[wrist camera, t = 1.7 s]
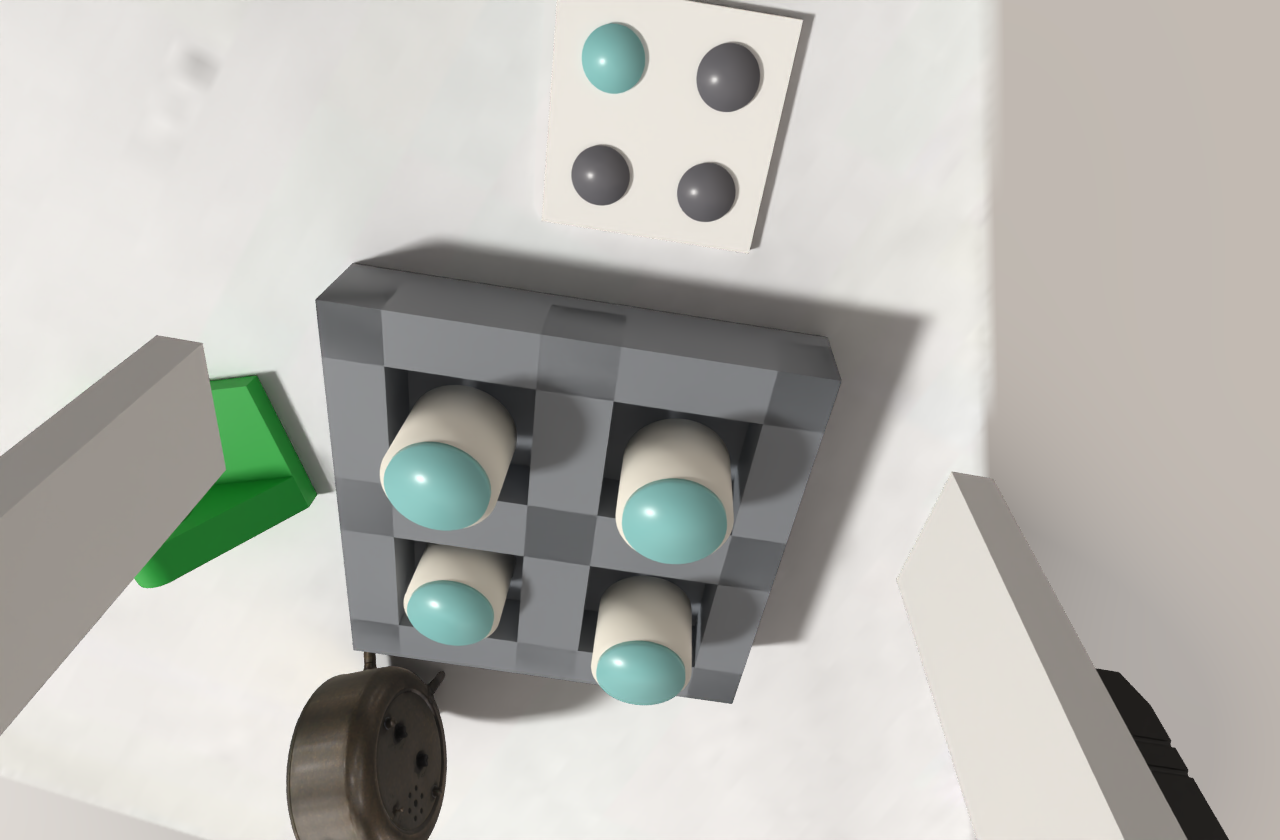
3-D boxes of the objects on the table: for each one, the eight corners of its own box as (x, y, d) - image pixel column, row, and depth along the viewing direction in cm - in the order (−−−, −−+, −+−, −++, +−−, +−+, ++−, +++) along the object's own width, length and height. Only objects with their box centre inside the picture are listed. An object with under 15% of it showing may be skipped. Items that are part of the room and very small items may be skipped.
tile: (559, -22, 27) (557, -21, 27) (801, 19, 28) (803, 20, 27) (543, 217, 32) (540, 222, 32) (748, 250, 32) (749, 254, 32)
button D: (426, 516, 40) (399, 575, 37) (517, 530, 41) (500, 589, 37) (427, 581, 43) (402, 642, 39) (513, 593, 43) (496, 655, 40)
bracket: (259, 372, 38) (183, 450, 32) (319, 491, 42) (260, 579, 36) (53, 397, 40) (-55, 475, 34) (130, 509, 44) (45, 596, 38)
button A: (630, 410, 33) (622, 470, 30) (740, 427, 34) (745, 488, 30) (616, 496, 36) (608, 560, 33) (718, 511, 36) (721, 576, 33)
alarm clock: (339, 624, 48) (199, 900, 34) (415, 612, 47) (301, 892, 33) (411, 727, 53) (316, 999, 40) (481, 719, 52) (407, 995, 39)
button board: (352, 263, 34) (315, 299, 31) (827, 337, 35) (841, 381, 31) (378, 597, 46) (353, 650, 43) (729, 648, 47) (732, 703, 43)
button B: (605, 569, 39) (595, 636, 35) (699, 583, 39) (699, 651, 35) (594, 633, 42) (585, 701, 38) (683, 646, 42) (682, 714, 38)
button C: (408, 377, 33) (372, 432, 30) (519, 393, 33) (498, 451, 30) (411, 465, 36) (379, 526, 32) (514, 480, 36) (494, 543, 32)
